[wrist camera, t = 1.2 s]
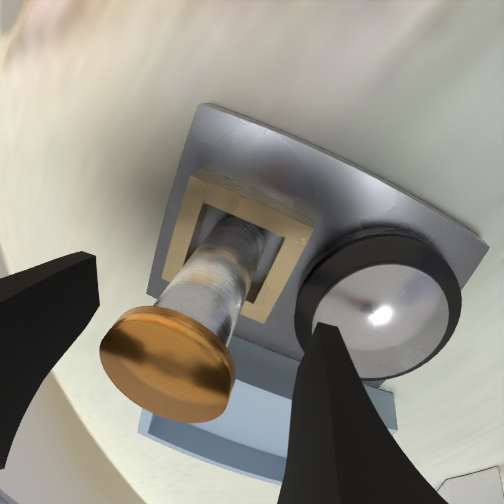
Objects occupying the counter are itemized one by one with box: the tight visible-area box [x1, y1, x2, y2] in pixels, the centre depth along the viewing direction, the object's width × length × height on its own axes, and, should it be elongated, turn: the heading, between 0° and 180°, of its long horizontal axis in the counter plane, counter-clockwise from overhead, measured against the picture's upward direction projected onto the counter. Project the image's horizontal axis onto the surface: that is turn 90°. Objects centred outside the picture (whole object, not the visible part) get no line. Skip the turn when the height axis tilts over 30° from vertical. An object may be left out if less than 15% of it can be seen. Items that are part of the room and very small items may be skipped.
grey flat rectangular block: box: [146, 103, 490, 388], centre depth 14 cm, size 14×10×3 cm
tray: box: [138, 334, 398, 486], centre depth 20 cm, size 15×12×3 cm
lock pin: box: [99, 216, 265, 423], centre depth 11 cm, size 3×3×8 cm
